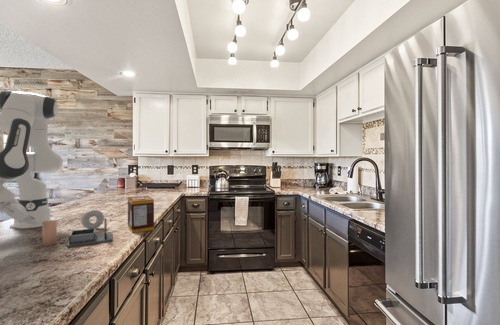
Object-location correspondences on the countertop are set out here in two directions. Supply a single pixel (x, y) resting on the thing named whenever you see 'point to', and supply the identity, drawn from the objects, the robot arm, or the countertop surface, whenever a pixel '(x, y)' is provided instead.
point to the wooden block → (49, 232)
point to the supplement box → (140, 213)
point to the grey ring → (90, 213)
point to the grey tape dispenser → (89, 236)
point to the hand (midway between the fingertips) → (34, 222)
